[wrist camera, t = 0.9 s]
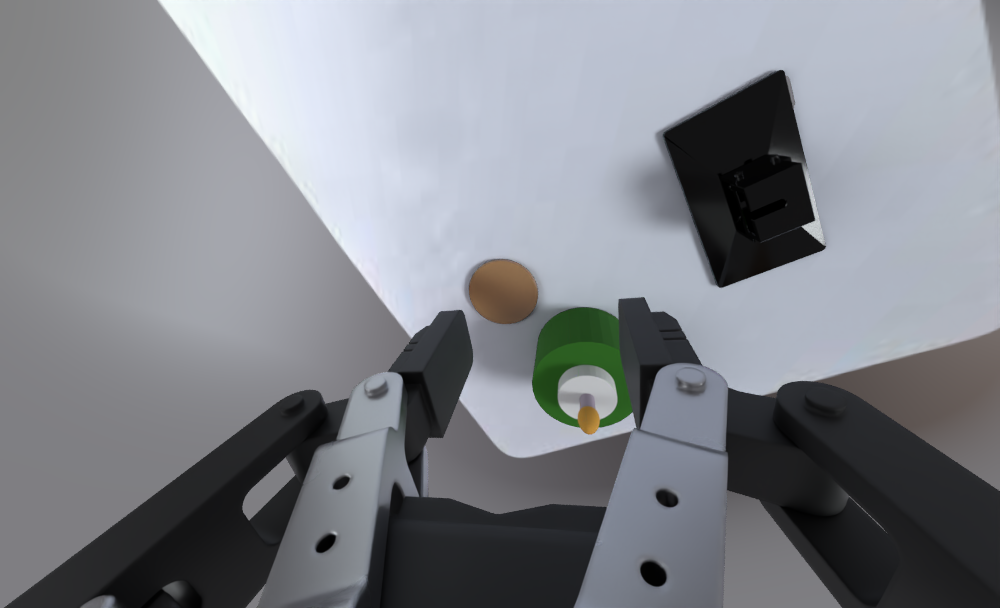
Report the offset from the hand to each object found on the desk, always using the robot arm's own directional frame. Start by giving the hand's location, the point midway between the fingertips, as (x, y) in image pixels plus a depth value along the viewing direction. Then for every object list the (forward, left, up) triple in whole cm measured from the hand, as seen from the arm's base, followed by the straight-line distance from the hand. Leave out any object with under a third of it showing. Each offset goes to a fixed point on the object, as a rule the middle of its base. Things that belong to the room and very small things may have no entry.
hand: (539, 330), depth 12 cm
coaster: (+6, -5, -17) cm, 19 cm away
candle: (+12, +1, -18) cm, 21 cm away
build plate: (0, +13, -18) cm, 22 cm away
